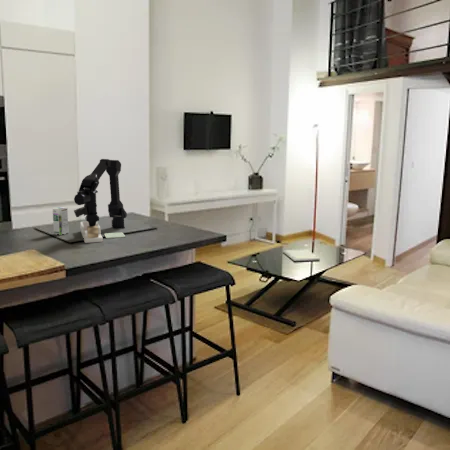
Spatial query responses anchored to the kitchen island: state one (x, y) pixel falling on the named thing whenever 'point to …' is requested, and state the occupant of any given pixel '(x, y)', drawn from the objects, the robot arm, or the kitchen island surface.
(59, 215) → the syrup box
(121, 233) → the sage pad
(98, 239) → the trap channel
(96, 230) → the maple block
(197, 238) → the kitchen island surface
